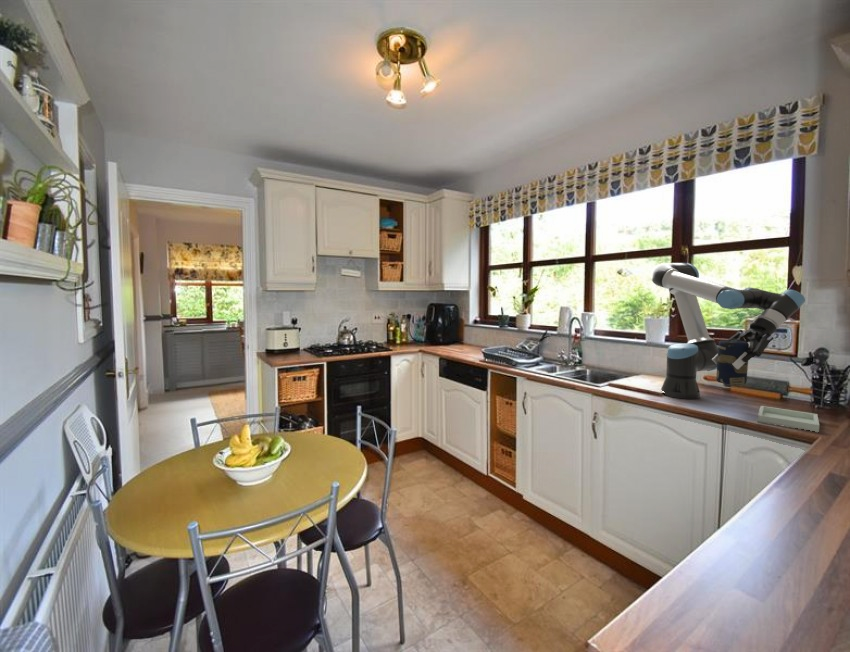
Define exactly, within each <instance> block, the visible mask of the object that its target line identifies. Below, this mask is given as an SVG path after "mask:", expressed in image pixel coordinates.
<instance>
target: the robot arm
mask: <svg viewBox="0 0 850 652" xmlns="http://www.w3.org/2000/svg"><path fill="white" fill-rule="evenodd" d="M650 278H651V279H650V280H651V281H652V283H653V284H654V285H656V286H657V287H660V288H661V287H662V288H664V289H668V291H669V293H670V294H672V295H673V296H674V298H675V302H676V305H677V310H678V313H679V315H680V319H681V321H682V325H683V328H684V332H685V335H686V338H687V342H686V343H685V342H684V343H675V344H671V345H669V346H668V347H667V352H666V372H665V373H666V374H665V379H664V381H663V383H662V385H661V389H660V391H661V390H662V391H664V392H665V395H664V396H666V395H667V397H669V398H670V397H672V398H675V399H682V400H683V399H685V400H694V399H695V400H696V399H700V397H701V391H700V388H699V385H698V382H697V373H698V372H705V371H707V372H709V371H710V372H711V371H714V370H716V371H717V358H718V345H717V343H716V340H715V339H714V338H712V337H710V334H709V331H708V328H707V324H706V322H705V319H704V316H703V313H702V310H701V307H700V303H699V300H698V298H700V299H704V300H707V301H711V303H712V302H713V303H716V304H717V305H719V306H720V307H721V308H723V309H727V310H735V309H736V310H738V309H757V310H758V309H759V310H762V312H761V313H760V314H759V315H758V316H757V317H755V319H754V320H752V322H751V323H750V324H749V328H748V329H747V330H743V329H739V330H738V331H737V332H736V333H735V334H733V335H732V336H730V337H729V338H727V340H730V339H738V340H740V341H745V342H747V343H748V344H749V349H748V350H747V352H748V353H746V352H744V353H743V354H742V355H741V356H740V357H739V358H738V359H737V360H736V361H735V362H734V363H733V364H732V365H733V366H734V367H735V368H736V369H739V368H740V367H741V366H742V365H743V364H744V363H745V362H748V363H749V360H751V358H755V357H757V358H759V357H761V355H763V353H764V351H765V350H766V348H767V347H768V345H769V344H770V342H771V341H772V340H774V337H773V336H772V335H773V334H774V333H775V332H776V331H777V329H779V328H781V326H783V324H784V323H785V322H787V320H788V319H789V318H790V317H791V316H792V315H794V314H795V313H796V312H797V311H799V310H800V308H801V307H802V306H803V305H804V303H805V302H806V298H805V296H804V295H803V294H802V293H801V292H799V291H797V290H795V289H786V290H784V291H783V292H781V293H776V292H773V291H772V292H771V291H769V290H768V291H767V290H764V289H759V288H755V287H745V288H743V289H736V288H734V287H729V286H726V285H724V284H721V283H720V284H719V283H716V282H713V281H709V280H706V279H703V278H700V273H699V270H698V268H697V267H696V266H695V265H693V264H691V263H687V262H662V263H659V264H656V265H655V266H654V267H653V268H652V271H651V273H650Z"/></svg>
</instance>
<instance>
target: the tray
mask: <svg viewBox="0 0 850 652" xmlns="http://www.w3.org/2000/svg"><path fill="white" fill-rule="evenodd" d="M759 407H760V408H759V410H758V413H757V423H760V422H763V423H762V424H765V423H769V424H768V425H771V424H776V425H775V426H777V425H784V426H788V427H787V428H789V427H793V428H792V429H795V428H798V429H797V430H801V429H804V430H803V431H806V430H810V431H809V432H812V431H815V432H814V433H818V432H819V433H820V421H819V417H818V415H819V414H818V413H813V412H812V413H811V412H807V411H806V412H805V411H799V410H793V409H786V408H785V409H784V408H778V407H772V406H766V405H760V406H759Z"/></svg>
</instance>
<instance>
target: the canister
mask: <svg viewBox="0 0 850 652" xmlns="http://www.w3.org/2000/svg"><path fill="white" fill-rule="evenodd" d="M717 346H718V358H717V369H716V377H715V378H716V379H715V380H716V382H718V383H720V384H724V385H730V386H744V385H746V384H747V381H748V369H749V361H748V362H745V363H744V364H743V365H742V366H741V367H740V368H739V369H736V368H735V367H734V366H733V365H732V364H733V363H734V362H735V361H736V360H737V359H738V358H739V357H740V356H741V355H742V354H743V353H744V352H746V353H748V352H747V350H748V349H749V346H750V343H749V342H748V343H747V342H745V341H740V340H738V339H730V340H728V339H724V340H719V341H718V345H717Z"/></svg>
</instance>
